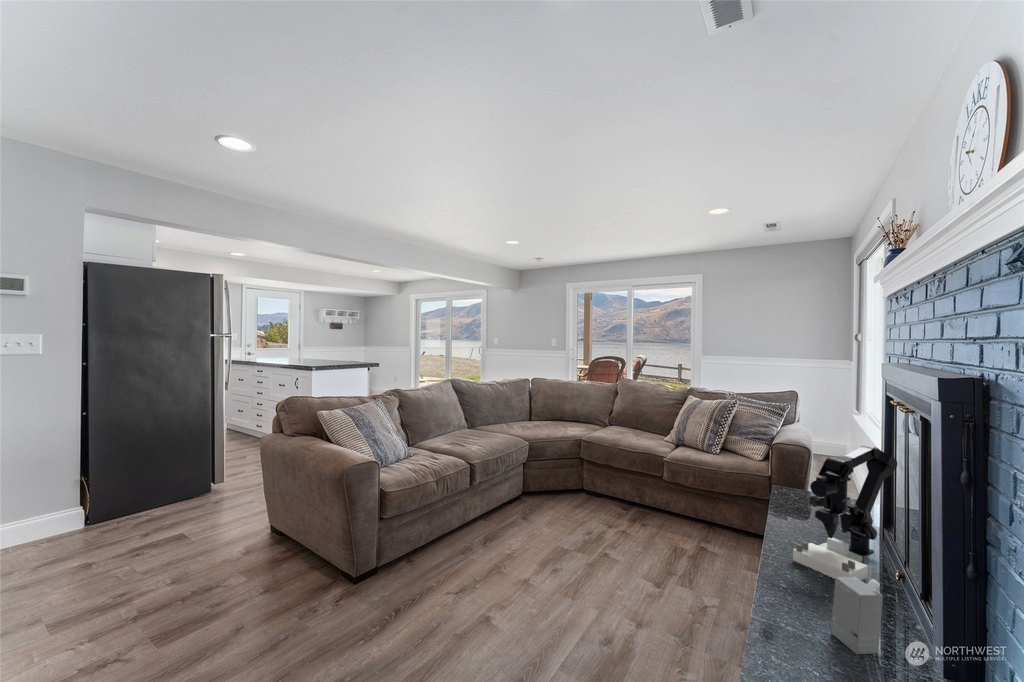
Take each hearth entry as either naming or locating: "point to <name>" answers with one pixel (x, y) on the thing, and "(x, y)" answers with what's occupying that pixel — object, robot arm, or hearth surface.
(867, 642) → the skincare box
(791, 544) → the hearth surface
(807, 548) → the white box base
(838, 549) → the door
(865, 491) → the robot arm
